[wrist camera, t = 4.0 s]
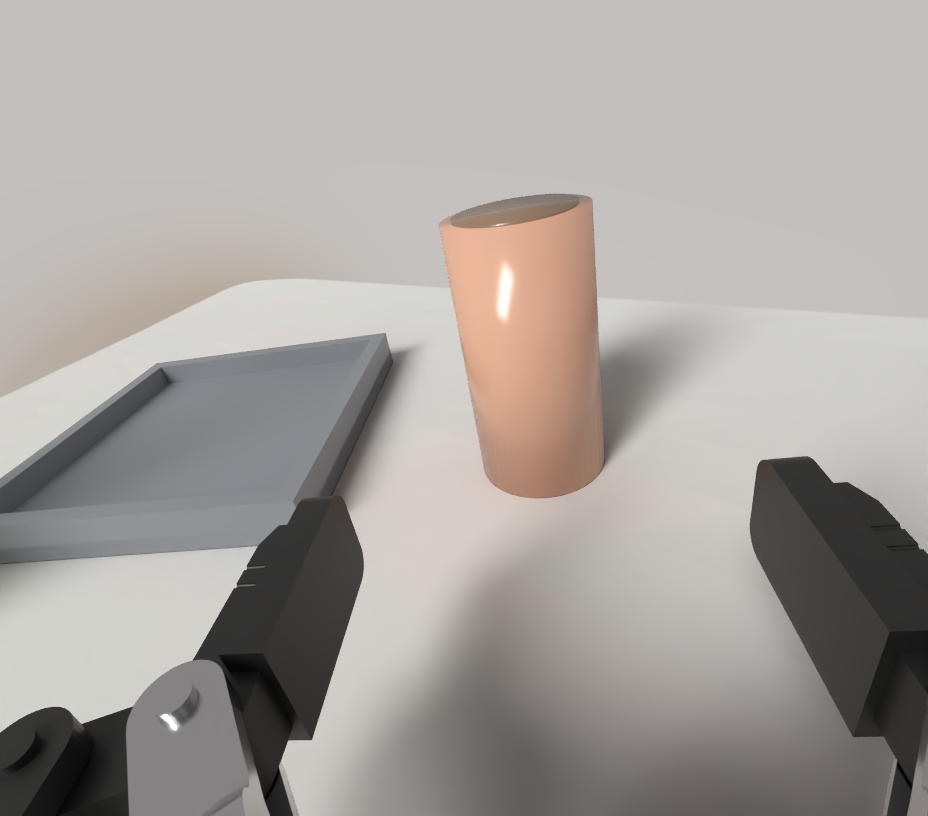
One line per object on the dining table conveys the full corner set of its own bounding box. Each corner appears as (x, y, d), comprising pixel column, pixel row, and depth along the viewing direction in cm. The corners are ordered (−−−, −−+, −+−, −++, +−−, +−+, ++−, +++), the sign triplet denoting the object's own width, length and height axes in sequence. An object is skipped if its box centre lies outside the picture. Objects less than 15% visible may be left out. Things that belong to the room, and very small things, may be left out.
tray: (392, 361, 34) (385, 333, 33) (310, 541, 20) (293, 501, 19) (169, 389, 36) (156, 363, 35) (-41, 566, 22) (-72, 532, 21)
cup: (595, 421, 24) (582, 184, 19) (613, 492, 20) (603, 209, 15) (486, 432, 25) (446, 207, 20) (481, 503, 20) (428, 237, 15)
